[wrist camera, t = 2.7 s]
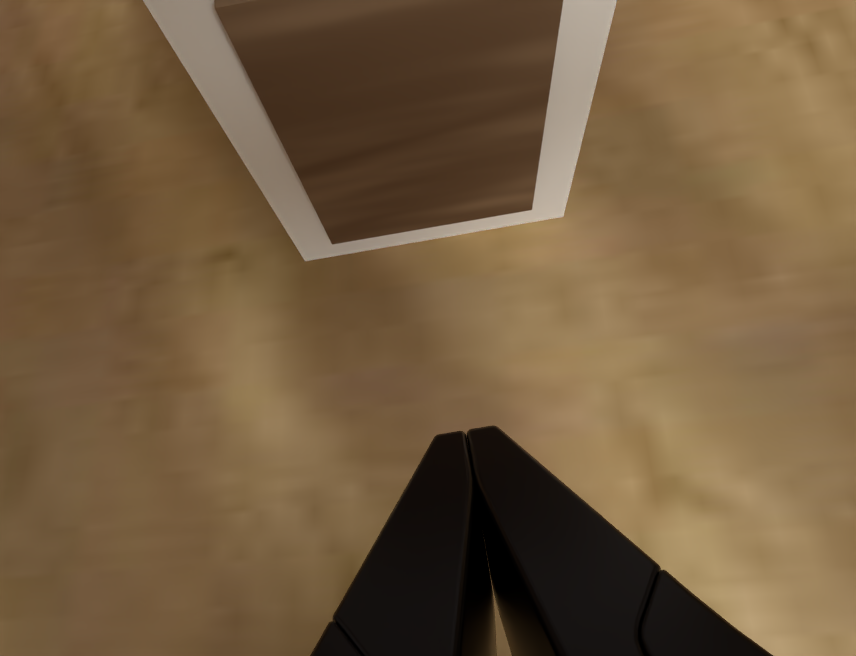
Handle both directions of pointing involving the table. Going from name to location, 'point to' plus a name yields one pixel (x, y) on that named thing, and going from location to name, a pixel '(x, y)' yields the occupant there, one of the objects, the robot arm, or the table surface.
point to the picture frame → (397, 108)
